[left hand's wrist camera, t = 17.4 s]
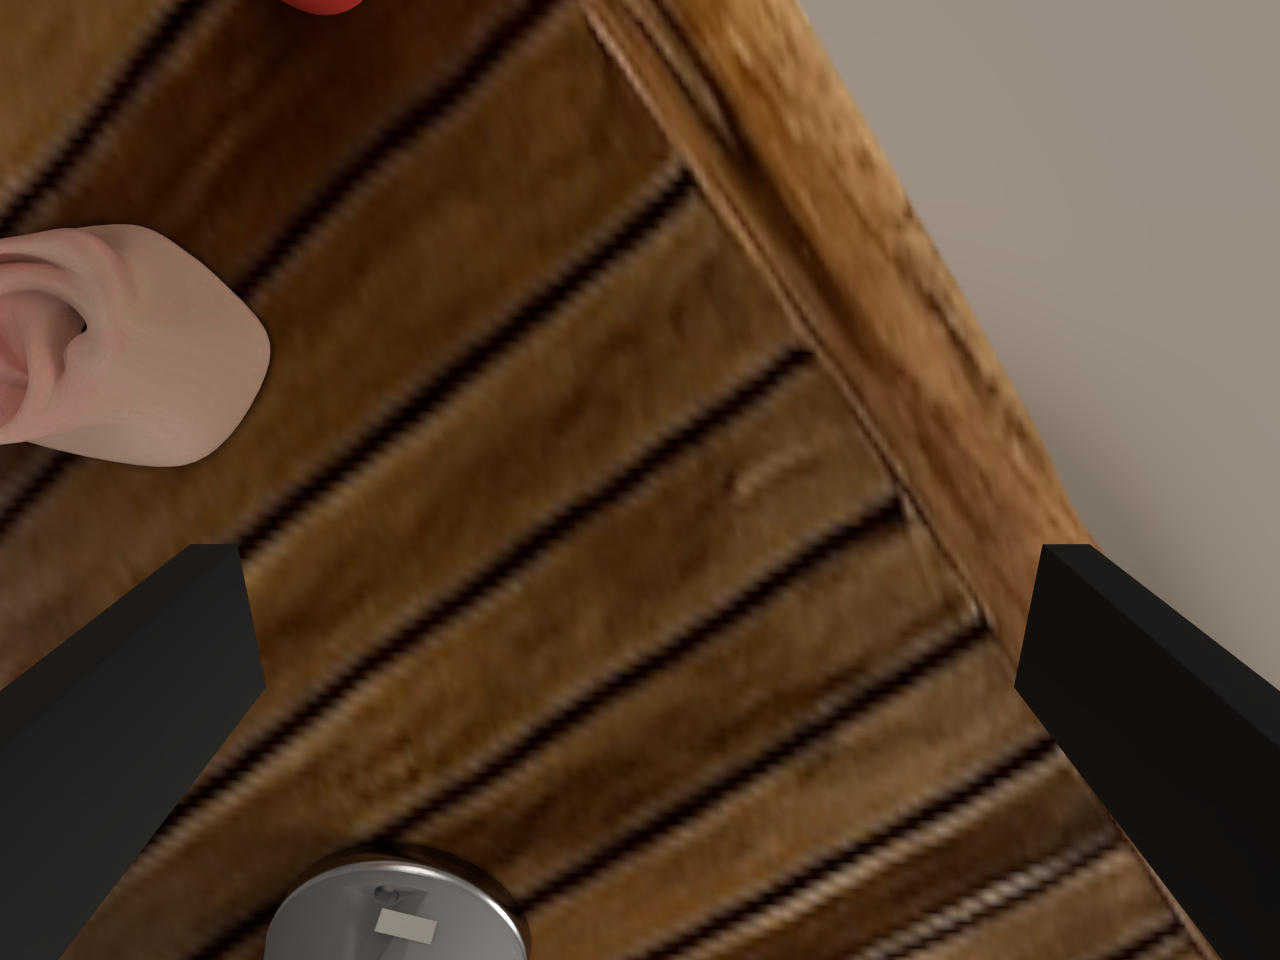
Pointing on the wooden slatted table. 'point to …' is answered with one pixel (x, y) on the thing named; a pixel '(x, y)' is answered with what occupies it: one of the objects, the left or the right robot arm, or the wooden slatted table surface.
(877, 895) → the wooden slatted table surface
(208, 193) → the wooden slatted table surface
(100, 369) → the anatomical model
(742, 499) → the wooden slatted table surface
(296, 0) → the cylinder
